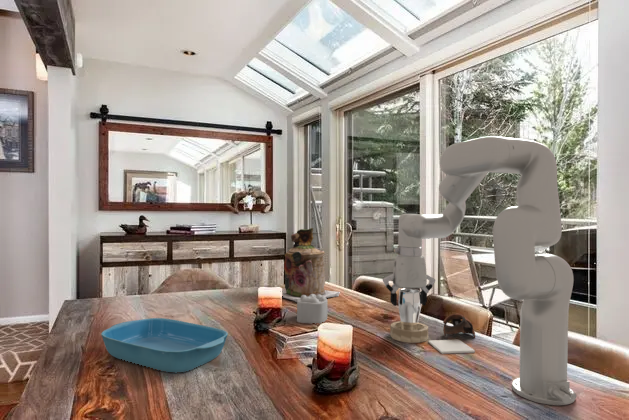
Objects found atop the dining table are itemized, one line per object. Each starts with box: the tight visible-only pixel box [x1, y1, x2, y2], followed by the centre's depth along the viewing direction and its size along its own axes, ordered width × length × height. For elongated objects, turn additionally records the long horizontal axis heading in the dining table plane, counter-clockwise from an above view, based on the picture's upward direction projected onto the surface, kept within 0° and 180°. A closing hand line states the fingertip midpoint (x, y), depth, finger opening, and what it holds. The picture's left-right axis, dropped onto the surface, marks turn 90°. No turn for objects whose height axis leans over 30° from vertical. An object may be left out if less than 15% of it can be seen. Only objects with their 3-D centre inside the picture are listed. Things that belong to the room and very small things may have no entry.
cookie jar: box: [281, 227, 341, 303], centre depth 198 cm, size 25×25×32 cm
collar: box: [389, 320, 429, 344], centre depth 137 cm, size 12×12×4 cm
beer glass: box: [398, 288, 422, 330], centre depth 137 cm, size 7×7×15 cm
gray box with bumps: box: [296, 294, 329, 325], centre depth 158 cm, size 10×13×9 cm
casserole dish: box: [100, 317, 229, 374], centre depth 118 cm, size 37×22×7 cm, turn 63°
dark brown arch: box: [442, 313, 476, 339], centre depth 139 cm, size 12×10×8 cm
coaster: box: [427, 339, 476, 355], centre depth 127 cm, size 10×10×1 cm
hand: (408, 304), depth 137 cm, fingers open, 9 cm apart
